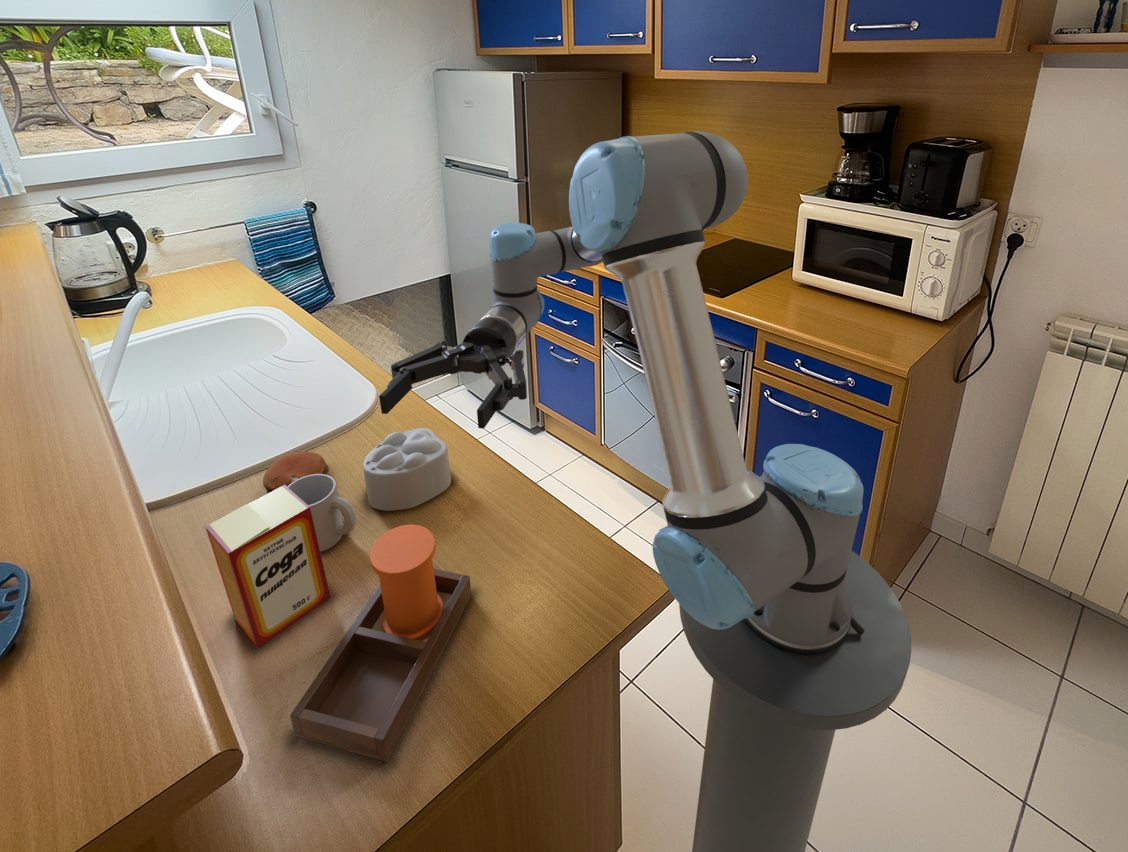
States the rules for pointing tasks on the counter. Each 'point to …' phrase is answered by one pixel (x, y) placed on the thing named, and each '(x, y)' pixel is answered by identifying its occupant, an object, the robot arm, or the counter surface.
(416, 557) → the spool
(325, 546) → the cup
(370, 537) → the counter surface
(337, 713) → the divided tray
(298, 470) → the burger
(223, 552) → the baking soda box
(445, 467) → the lumpy-topped squat cylinder
